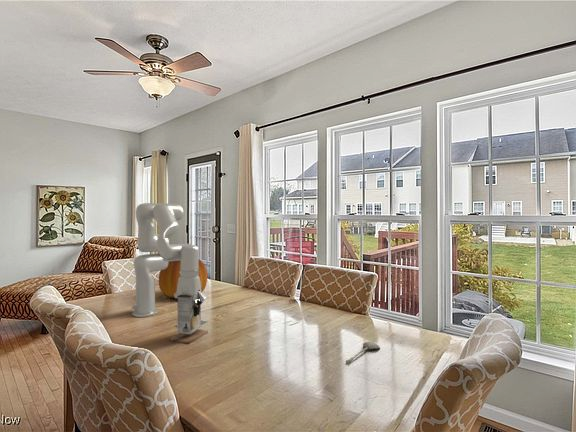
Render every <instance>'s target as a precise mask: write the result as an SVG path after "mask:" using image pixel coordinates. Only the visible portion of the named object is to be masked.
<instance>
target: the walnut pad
mask: <svg viewBox="0 0 576 432" xmlns="http://www.w3.org/2000/svg"><path fill="white" fill-rule="evenodd" d="M208 332H209V331H208V330H204V329H199V328H198V329H197V330H195V331H194V332H193V333H191V334H183V333H177V334H175V335H174V336H172V337H170V338H169V341H170V342H171V341H172V342H177V343H183V344H186V345H190V344H191V343H193V342H195V341H196V340H198V339H200V338H201V337H203V336H204V335H207V334H208Z"/></svg>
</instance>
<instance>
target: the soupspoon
mask: <svg viewBox="0 0 576 432" xmlns="http://www.w3.org/2000/svg"><path fill="white" fill-rule="evenodd" d="M362 346H363V349H361V350H360V351H359V352H357V353H356V354H355V355H354V356H352V357H350V358H349V359H346V360H345V364H348V365H350V364H351V363H352V362H353V360H354V359H356V358H357V357H358V356H360V355H361V354H362V353H363V352H365V351H367V350H373V349H375V350H376V349H380V348H381V347H380V346H379V345H378V344H377V343H375V342H374V341H373V342H372V341H366V342H363V343H362Z"/></svg>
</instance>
